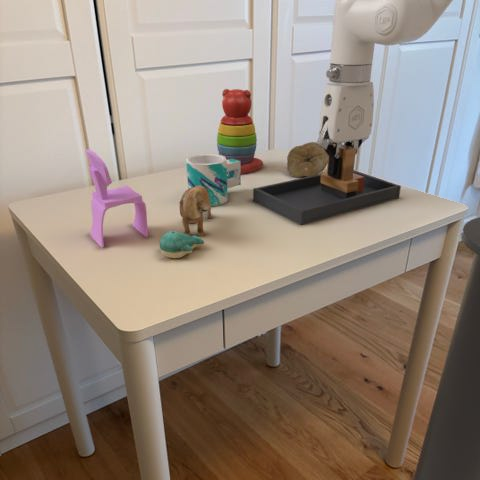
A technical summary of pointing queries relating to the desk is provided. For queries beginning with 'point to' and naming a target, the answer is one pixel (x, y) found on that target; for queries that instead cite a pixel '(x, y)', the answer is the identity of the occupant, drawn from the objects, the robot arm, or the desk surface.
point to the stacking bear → (238, 131)
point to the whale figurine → (178, 244)
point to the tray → (321, 198)
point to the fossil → (306, 160)
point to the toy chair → (111, 199)
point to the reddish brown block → (361, 182)
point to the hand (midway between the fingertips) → (339, 174)
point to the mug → (213, 175)
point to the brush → (342, 176)
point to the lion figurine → (195, 208)
